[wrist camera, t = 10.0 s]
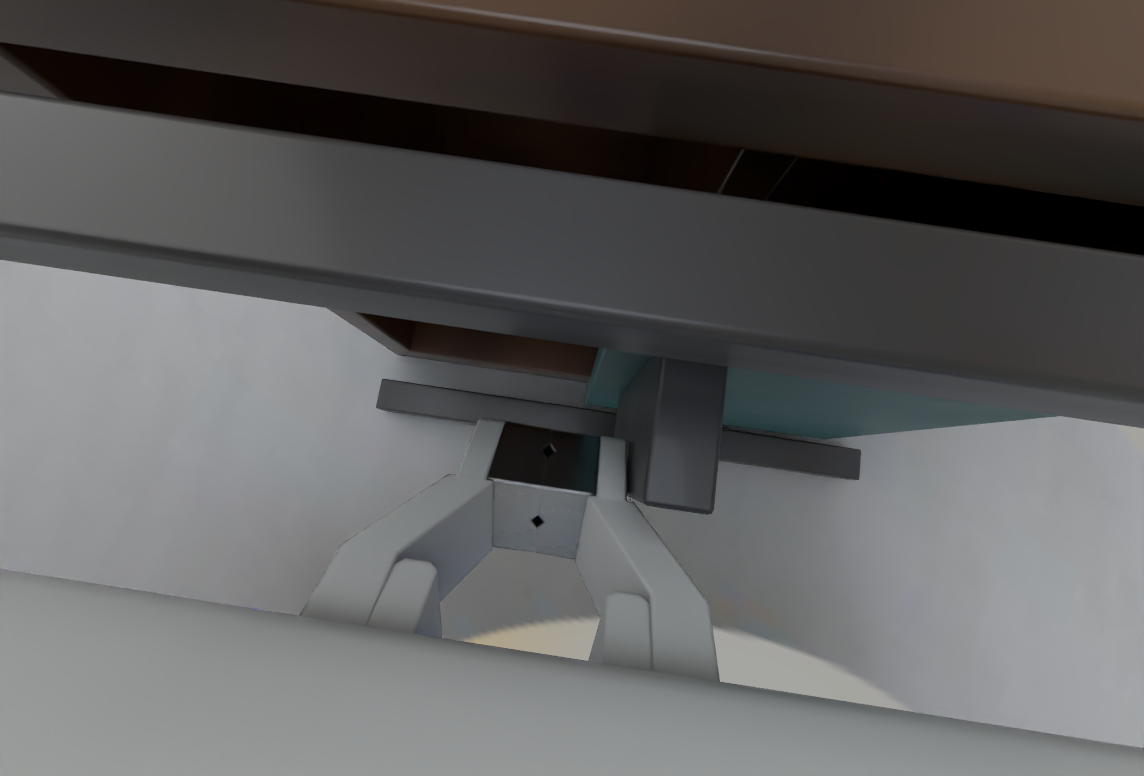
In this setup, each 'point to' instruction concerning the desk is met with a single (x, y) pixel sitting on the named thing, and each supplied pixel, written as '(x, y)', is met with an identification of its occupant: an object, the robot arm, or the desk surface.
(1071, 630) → the desk surface
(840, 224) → the cupboard
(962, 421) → the closet door
